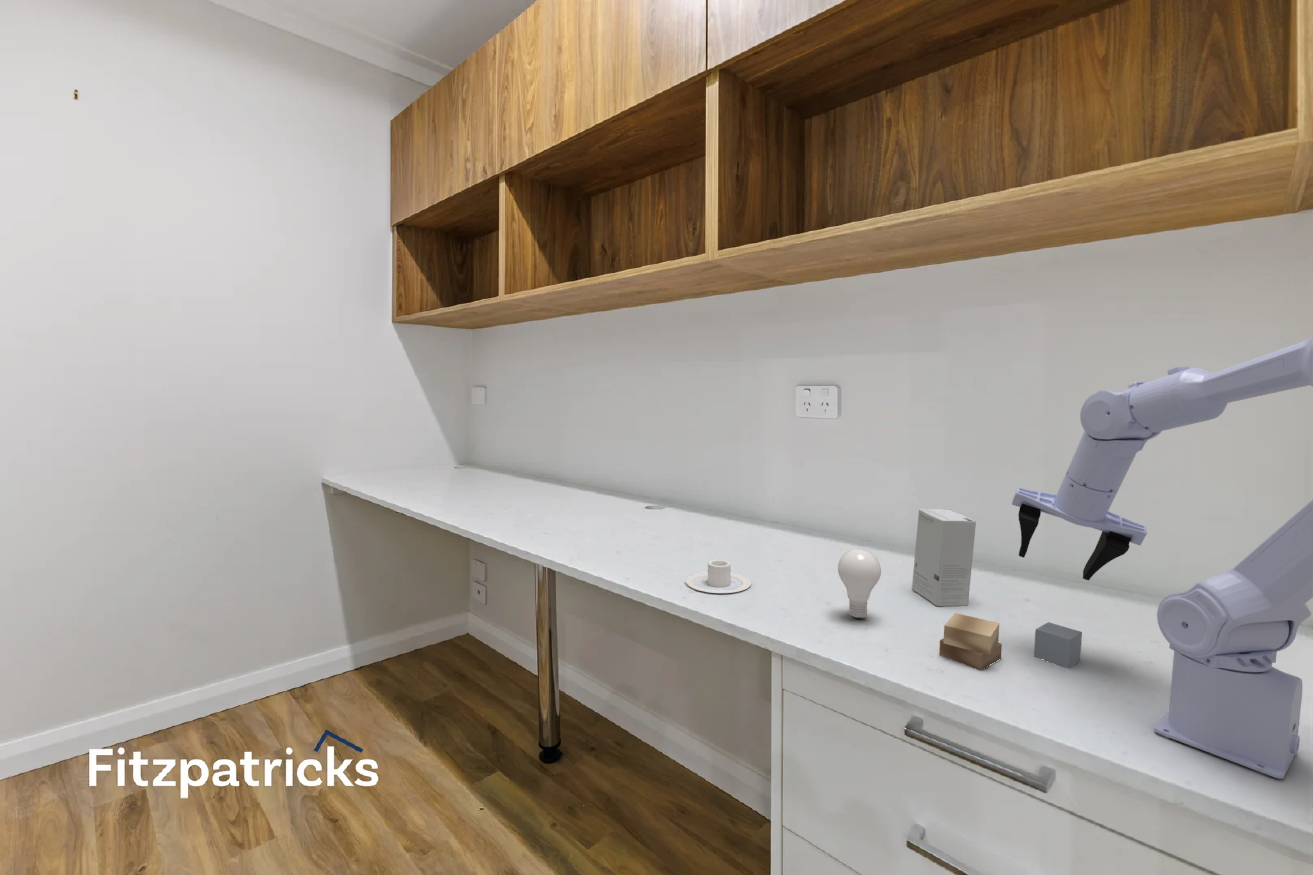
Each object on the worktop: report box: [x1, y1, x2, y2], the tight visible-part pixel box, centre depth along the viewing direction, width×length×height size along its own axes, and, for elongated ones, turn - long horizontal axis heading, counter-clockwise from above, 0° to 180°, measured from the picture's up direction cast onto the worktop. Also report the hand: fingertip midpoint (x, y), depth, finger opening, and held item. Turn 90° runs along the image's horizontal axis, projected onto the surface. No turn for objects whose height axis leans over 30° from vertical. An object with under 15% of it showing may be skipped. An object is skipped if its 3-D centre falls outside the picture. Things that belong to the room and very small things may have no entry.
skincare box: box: [911, 508, 977, 607], centre depth 101 cm, size 8×6×15 cm
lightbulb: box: [837, 548, 882, 620], centre depth 92 cm, size 6×6×11 cm
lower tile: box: [939, 637, 1003, 671], centre depth 80 cm, size 6×6×2 cm
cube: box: [1033, 621, 1083, 669], centre depth 79 cm, size 4×4×4 cm
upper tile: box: [943, 612, 1000, 655], centre depth 79 cm, size 6×6×2 cm
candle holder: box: [684, 559, 752, 594], centre depth 109 cm, size 12×12×4 cm
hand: (1053, 564), depth 81 cm, fingers open, 7 cm apart
